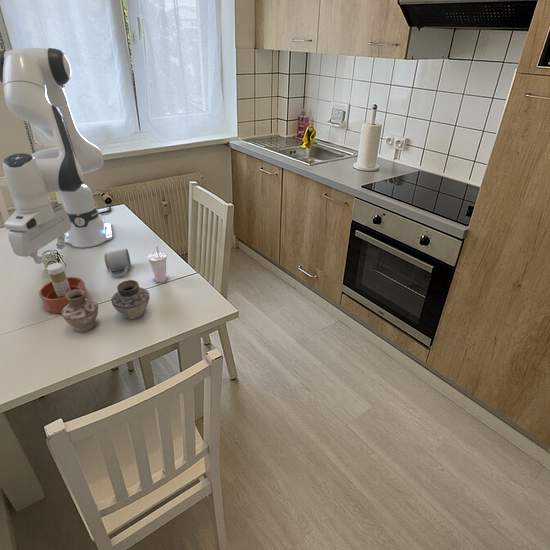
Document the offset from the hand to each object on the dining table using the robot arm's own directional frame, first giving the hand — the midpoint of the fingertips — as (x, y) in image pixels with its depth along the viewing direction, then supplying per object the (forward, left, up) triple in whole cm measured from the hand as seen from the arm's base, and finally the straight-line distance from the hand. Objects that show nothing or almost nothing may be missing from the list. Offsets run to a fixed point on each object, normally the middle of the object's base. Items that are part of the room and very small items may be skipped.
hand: (50, 255), depth 120 cm
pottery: (+12, +16, -18) cm, 27 cm away
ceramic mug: (-17, +15, -18) cm, 29 cm away
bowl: (0, 0, -18) cm, 18 cm away
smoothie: (-8, +30, -18) cm, 36 cm away
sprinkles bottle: (0, 0, -18) cm, 18 cm away
